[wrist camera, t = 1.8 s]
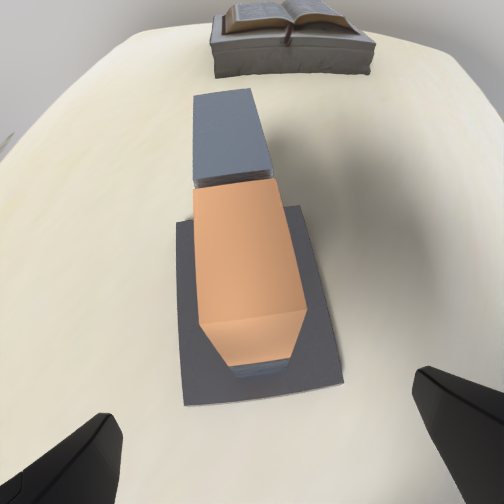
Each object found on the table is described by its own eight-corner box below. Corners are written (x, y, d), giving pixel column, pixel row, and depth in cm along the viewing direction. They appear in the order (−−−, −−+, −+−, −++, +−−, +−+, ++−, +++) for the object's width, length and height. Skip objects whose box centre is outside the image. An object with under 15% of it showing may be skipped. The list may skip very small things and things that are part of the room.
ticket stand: (339, 384, 18) (429, 332, 8) (188, 406, 18) (88, 381, 7) (298, 214, 25) (311, 80, 15) (179, 230, 25) (132, 104, 15)
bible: (376, 92, 37) (387, 33, 29) (191, 82, 40) (181, 24, 31) (352, 41, 49) (357, 0, 40) (222, 35, 52) (217, -6, 43)
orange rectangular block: (289, 358, 14) (307, 309, 8) (229, 367, 14) (199, 324, 8) (273, 270, 17) (275, 178, 11) (219, 277, 17) (192, 189, 11)
